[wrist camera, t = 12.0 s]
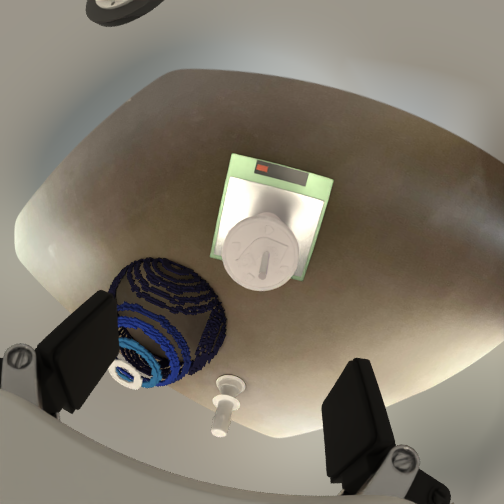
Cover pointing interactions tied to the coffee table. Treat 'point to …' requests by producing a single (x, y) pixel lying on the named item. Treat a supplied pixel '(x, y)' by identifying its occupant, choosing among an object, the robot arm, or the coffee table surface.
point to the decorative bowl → (156, 335)
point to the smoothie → (260, 252)
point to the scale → (278, 178)
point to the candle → (226, 403)
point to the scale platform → (274, 201)
